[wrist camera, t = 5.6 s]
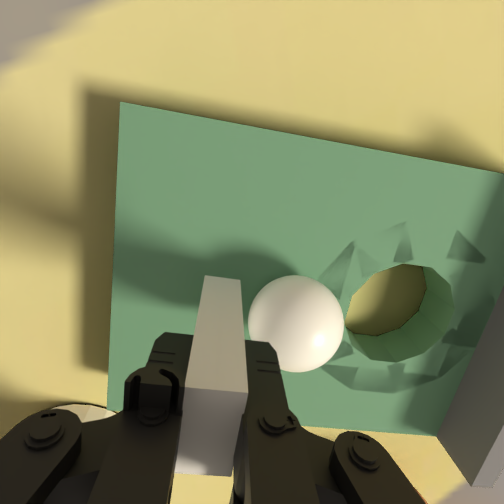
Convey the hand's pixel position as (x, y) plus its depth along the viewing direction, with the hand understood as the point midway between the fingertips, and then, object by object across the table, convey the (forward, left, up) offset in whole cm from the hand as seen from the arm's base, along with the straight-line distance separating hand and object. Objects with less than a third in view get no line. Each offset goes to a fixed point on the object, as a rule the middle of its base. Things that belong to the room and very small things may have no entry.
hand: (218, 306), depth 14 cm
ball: (+3, 0, 0) cm, 3 cm away
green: (+5, 0, -4) cm, 6 cm away
